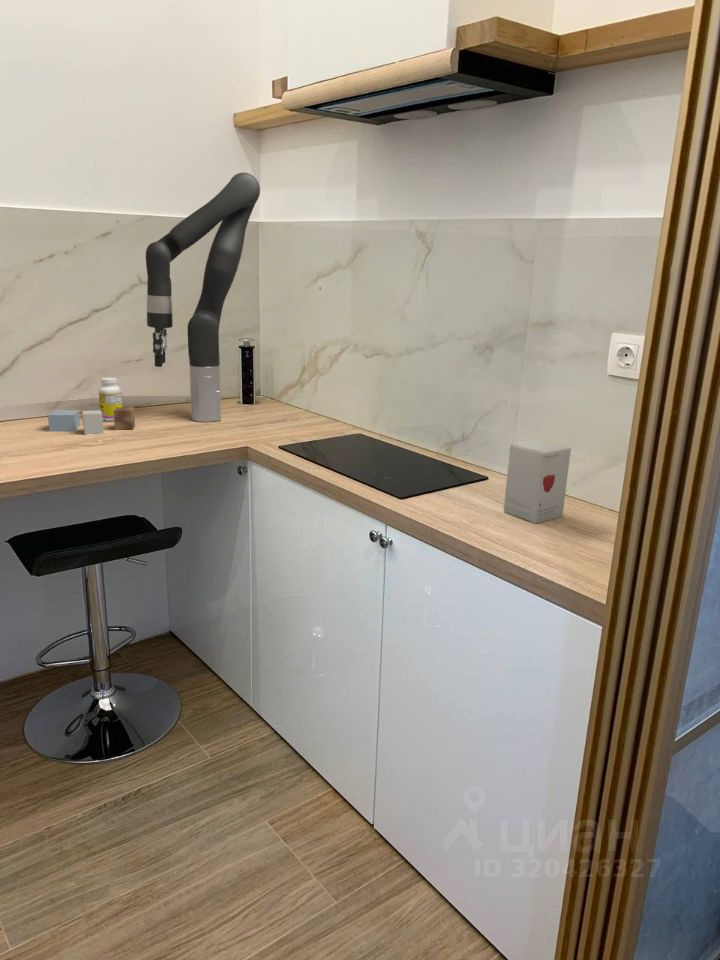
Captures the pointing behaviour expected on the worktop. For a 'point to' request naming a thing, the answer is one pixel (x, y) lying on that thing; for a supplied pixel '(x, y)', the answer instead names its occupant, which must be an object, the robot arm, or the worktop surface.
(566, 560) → the worktop surface
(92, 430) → the grey block
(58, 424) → the base block
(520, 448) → the supplement box
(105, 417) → the supplement bottle
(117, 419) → the walnut block
